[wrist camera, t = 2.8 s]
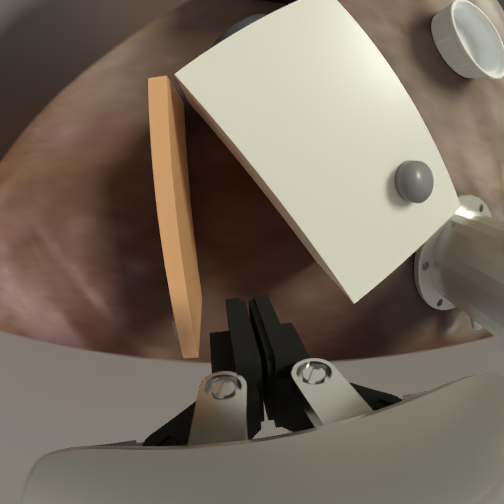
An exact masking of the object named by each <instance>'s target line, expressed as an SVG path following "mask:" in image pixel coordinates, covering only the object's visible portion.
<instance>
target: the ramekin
mask: <svg viewBox="0 0 504 504" xmlns="http://www.w3.org/2000/svg"><path fill="white" fill-rule="evenodd" d="M431 31H432V36H433V39H434V42H435V44H436V47H437V49H438V51H439V52H440V54H441V56H442V57H443V59H444V60H445V61H446V63H447V64H448V65H449V66H450V67H451V68H452V69H453V70H454V71H455V72H456V73H458V74H459V75H461V76H463V77H466V78H491V79H500V78H502V77H503V76H504V45H503V43H502V40H501V38H500V36H499V34H498V32H497V30H496V28H495V27H494V25H493V24H492V22H491V21H490V20H489V18H488V17H487V16H486V15H485V14H484V13H483V12H482V11H481V10H480V9H479V8H478V7H477V6H475V5H474V4H472V3H471V2H469V1H467V0H454V1H453V2H452V3H451V4H450V5H449V6H448V7H446V8H445V9H443V10H442V11H440V12H438V13H437V14H436V15H435V16H434V17H433V19H432V23H431Z"/></svg>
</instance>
